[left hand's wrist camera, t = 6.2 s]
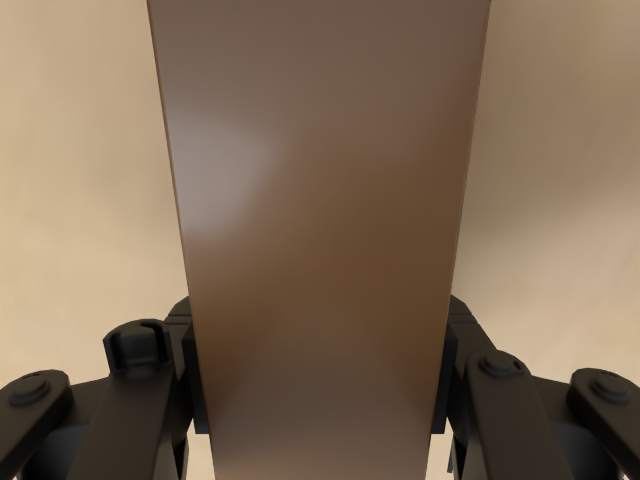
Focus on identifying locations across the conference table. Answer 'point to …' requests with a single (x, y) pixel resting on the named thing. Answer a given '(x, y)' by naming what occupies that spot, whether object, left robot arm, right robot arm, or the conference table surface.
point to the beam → (319, 220)
